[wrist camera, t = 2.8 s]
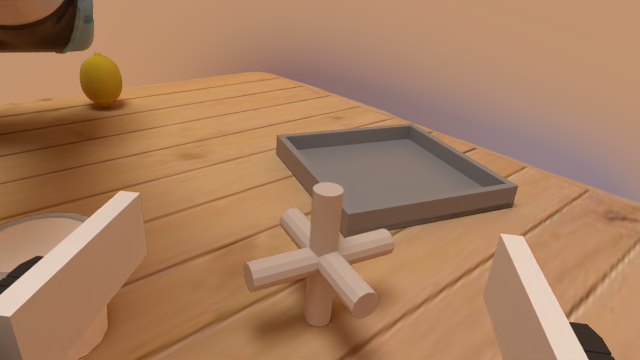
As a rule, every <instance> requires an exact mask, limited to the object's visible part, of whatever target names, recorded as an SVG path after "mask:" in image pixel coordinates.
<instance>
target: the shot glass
mask: <svg viewBox="0 0 640 360" xmlns="http://www.w3.org/2000/svg"><path fill="white" fill-rule="evenodd" d="M88 218H90V217H87V216H84V215H80V214H76V213H56V212H52V213H45V214H38V215H31V216H26V217H23V218H20V219H16V220H13V221H10V222H7V223H4V224H1V225H0V280H1V279H2V278H6V275H7V274H8V273H10V272H11V271H12V270H13V269H14V268H16V267H17V266H18V265H19V264H21V263H23V262H25V261H27V260H29V259H31V258H33V257H35V256H44V257H45V256H46V255H47V254H48V253H49V252H50V251H52V250H53V249H54V248H55V247H56V246H57V245H58V244H60V243H61V242H62V241H63V240H64V239H65V238H66V237H68V236H69V235H70V234H71V233H72V232H73V231H75V230H76V229H77V228H78V227H79V226H80V225H81V224H83V223H84V222H85V221H86V220H87V219H88ZM107 329H108V320H107V305H106V307H105V308H104V309H103V310H102V312H101V313H100V314H99V315H98V317H97V318H96V319H95V320H94V322H93V323H92V324H91V325H90V327H89V328H88V329H87V330H86V332H85V333H84V334H83V335H82V337H81V338H80V339H79V340H78V342H77V343H76V344H75V345H74V347H73V348H72V349H71V350H70V351H69V353H68V354H67V355H66V356H65V358H64V359H63V360H77V359H79V358H81V357H83V356H85V355H87V354H88V353H89V352H90V351H91V350H93V349H94V348H95V347H96V346H97V345H98V344H99V343H100V342H101V341H102V339H103V337H104V335H105V333H106V331H107Z"/></svg>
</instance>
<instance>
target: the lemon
mask: <svg viewBox="0 0 640 360" xmlns="http://www.w3.org/2000/svg"><path fill="white" fill-rule="evenodd" d="M80 83H81V87H82V90H83V92H84V94H85V95H86V96H87V97H88V98H89V99H90V100H91V101H93V102H95V103H98V104H100V105H101V106H102V107H108V105H109V104H110V103H111V102H113V101H115V100H116V99H117V98H118V97H119V96H120V94H121V91H122V78H121V74H120V71H119V69H118V67H117V65H116V64H115V63H114V62H113V61H112V60H111V59H110V58H108V57H106V56H103V55H101V54H100V53H95V54H94V55H93V56H90V57H88V58H87V59H86V60H85V61H84V62H83V63H82V66H81V69H80Z"/></svg>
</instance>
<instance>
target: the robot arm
mask: <svg viewBox="0 0 640 360" xmlns="http://www.w3.org/2000/svg"><path fill="white" fill-rule="evenodd" d="M93 37H94V20H93V0H0V52H1V53H5V52H55V53H60V54H64V53H67V52H71V51H72V52H73V51H83V50H86V49H88V48H89V47H90V46H91V44H92V42H93ZM146 256H147V246H146V238H145V229H144V221H143V213H142V205H141V197H140V193H135V192H127V191H120V192H118V193H117V194H116V195H115V196H114V197H113V198H111V199H110V200H109V201H108V202H107V203H106V204H105V205H103V206H102V207H101V208H100V209H99V210H98V211H96V212H95V213H94V214H93V215H92V216H91V217H90V218H88V219H87V220H86V221H85V222H84V223H83V224H81V225H80V226H79V227H78V228H77V229H76V230H75V231H73V232H72V233H71V234H70V235H69V236H68V237H66V238H65V239H64V240H63V241H62V242H61V243H60V244H58V245H57V246H56V247H55V248H54V249H53V250H52V251H50V252H49V253H48V254H47V255H46V256H45V257H44V256H35V257H33V258H31V259H29V260H27V261H25V262H23V263H21V264H19V265H18V266H17V267H16V268H14V269H13V270H12V271H11V272H10V273H8V274H7V275H6V278H2V279H1V280H0V360H63V359H64V358H65V356H66V355H67V354H68V353H69V351H70V350H71V349H72V348H73V347H74V345H75V344H76V343H77V342H78V340H79V339H80V338H81V337H82V335H83V334H84V333H85V332H86V330H87V329H88V328H89V327H90V325H91V324H92V323H93V322H94V320H95V319H96V318H97V317H98V315H99V314H100V313H101V312H102V310H103V309H104V308H105V307H106V305H107V304H108V303H109V302H110V300H111V299H112V298H113V297H114V296H115V294H116V293H117V292H118V291H119V289H120V288H121V287H122V286H123V284H124V283H125V282H126V281H127V279H128V278H129V277H130V276H131V274H132V273H133V272H134V271H135V269H136V268H137V267H138V266H139V264H140V263H141V262H142V261H143V259H144V258H145V257H146ZM483 297H484V300H485V303H486V306H487V310H488V313H489V316H490V319H491V322H492V325H493V329H494V332H495V335H496V338H497V341H498V344H499V348H500V351H501V354H502V357H503V360H615V359H614V357H612V356H611V352H610V350H609V349H608V347H607V345H606V344H605V342H604V340H603V339H602V338H601V337H600V336H599V335H598V334H597V333H596V332H595V331H594V330H593V329H592V328H590V327H589V326H588V325H587V324H581V323H573V322H568V320H567V318H566V316H565V315H564V313H563V311H562V309H561V307H560V305H559V303H558V301H557V299H556V298H555V296H554V294H553V292H552V290H551V288H550V286H549V284H548V283H547V281H546V279H545V277H544V275H543V273H542V271H541V269H540V268H539V266H538V264H537V262H536V260H535V258H534V256H533V254H532V253H531V251H530V249H529V247H528V245H527V243H526V241H525V239H524V238H523V236H516V235H507V234H500V237H499V241H498V244H497V248H496V251H495V255H494V259H493V262H492V266H491V270H490V273H489V277H488V281H487V284H486V288H485V291H484V295H483Z"/></svg>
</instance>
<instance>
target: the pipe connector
mask: <svg viewBox="0 0 640 360" xmlns="http://www.w3.org/2000/svg"><path fill="white" fill-rule="evenodd" d="M343 191H344V190H343V188H342V187H341V186H340V185H338V184H335V183H331V182H322V183H318V184H316V185H315V186H314V187H313V198H312V212H311V222H310V221H309V220H308V218H307V217H306V216H305V215H304V214H303V213H302V212H301V211H300V210H299V209H297V208H290V209H288V210H286V211H285V212H284V213H283V214H282V215H281V218H280V225H281V227H282V228H283V230H284V231H285V232H286V233H287V235H288V236H289V237H290V238H291V239H292V241H293V242H294V243H295V244H296V246H297V247H298V248H299V249H298V250H294V251H290V252H286V253H282V254H278V255H274V256H270V257H266V258H262V259H258V260H254V261H250V262H246V263H245V264H244V277H245V281H246V284H247V287H248V289H249V290H250V292H251V293H252V292H255V291H259V290H262V289H266V288H269V287H273V286H277V285H280V284H284V283H287V282H291V281H294V280H298V279H302V278H305V277H307V287H306V301H305V320H306V322H307V323H309V324H310V325H312V326H317V327H321V326H324V325H327V324H328V323H329V322H330V319H331V310H332V300H333V292H334V293H335V294H336V295H337V297H338V298H339V299H340V300H341V302H342V303H343V304H344V305H345V307H346V308H347V309H348V310H349V312H350V313H351V314H352V315H353V316H354V317H356V318H357V319H359V318H365V317H367V316H368V315H370V314H371V313H372V312H373V311H374V310H375V309H376V308H377V305H378V303H379V296H378V294H377V293H376V292H375V291H374V290H373V289H372V288H371V287H370V286H369V285H368V284H367V283H366V281H365V280H364V279H363V278H362V277H361V276H360V275H359V274H358V273H357V272H356V271H355V269H354V268H353V267H352V266H351V265H352V264H355V263H359V262H362V261H366V260H369V259H373V258H377V257H380V256H384V255H387V254H390V253H392V251H393V249H394V241H393V238H392V235H391V234H390V233H389V231H388V230H386V229H384V228H383V229H379V230H375V231H371V232H367V233H363V234H359V235H355V236H351V237H347V238H343V239H339V231H340V221H341V211H342V201H343Z"/></svg>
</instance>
